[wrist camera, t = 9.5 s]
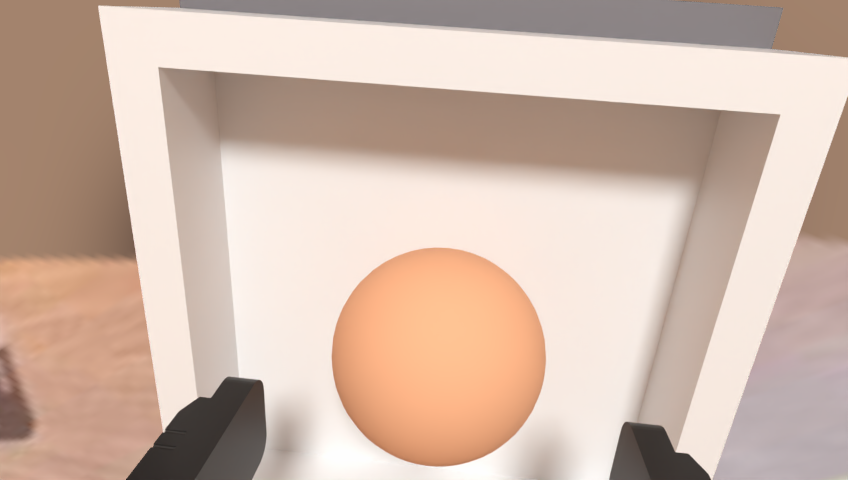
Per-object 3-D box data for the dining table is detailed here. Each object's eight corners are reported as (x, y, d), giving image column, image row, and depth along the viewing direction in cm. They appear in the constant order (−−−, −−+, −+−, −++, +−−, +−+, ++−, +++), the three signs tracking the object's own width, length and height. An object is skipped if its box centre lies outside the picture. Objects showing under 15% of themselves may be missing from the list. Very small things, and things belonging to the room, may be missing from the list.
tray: (771, 49, 14) (860, 59, 11) (640, 499, 20) (672, 593, 17) (180, 7, 15) (98, 5, 12) (224, 451, 21) (178, 531, 18)
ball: (548, 226, 16) (581, 328, 11) (522, 384, 18) (539, 532, 13) (357, 209, 16) (300, 300, 11) (354, 366, 18) (306, 503, 13)
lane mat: (775, 8, 14) (785, 7, 14) (578, 695, 26) (580, 708, 25) (183, -31, 15) (174, -33, 15) (248, 650, 27) (244, 661, 26)
